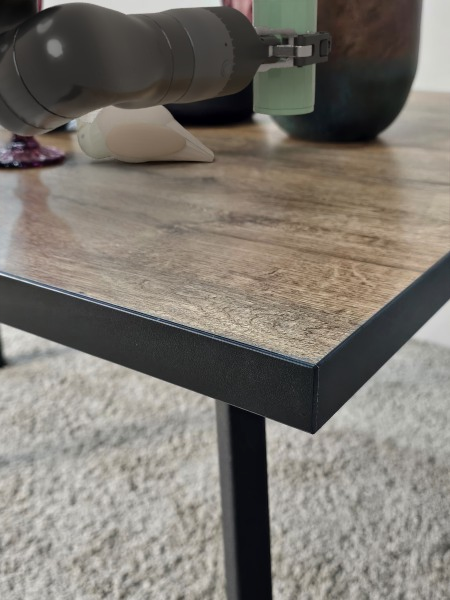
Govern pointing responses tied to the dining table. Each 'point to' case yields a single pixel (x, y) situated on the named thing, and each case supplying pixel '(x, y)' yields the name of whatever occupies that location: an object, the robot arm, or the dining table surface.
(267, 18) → the cup
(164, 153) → the decorative bird
